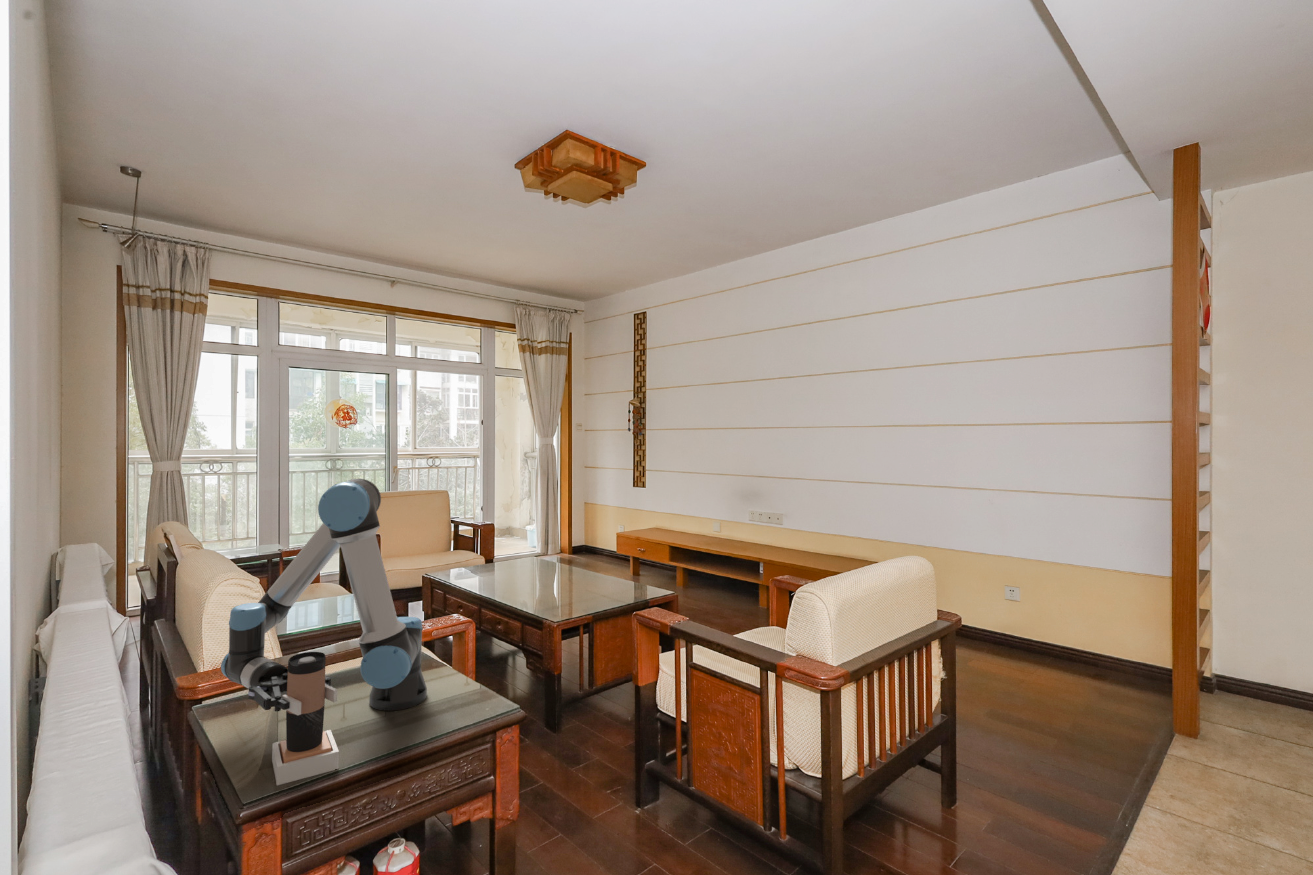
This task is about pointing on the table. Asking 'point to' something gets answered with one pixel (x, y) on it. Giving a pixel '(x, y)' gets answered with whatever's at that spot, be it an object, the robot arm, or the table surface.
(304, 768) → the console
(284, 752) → the pink flat block
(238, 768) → the table surface
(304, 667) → the travel mug
